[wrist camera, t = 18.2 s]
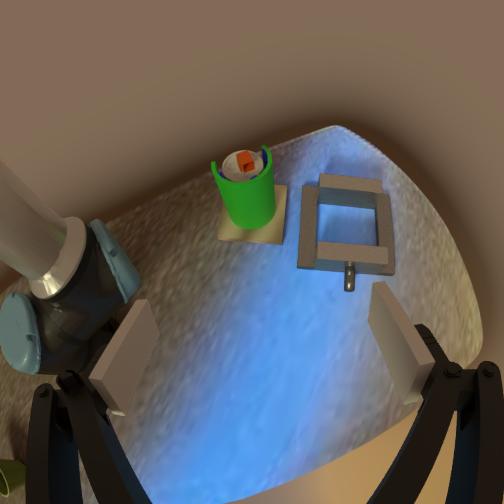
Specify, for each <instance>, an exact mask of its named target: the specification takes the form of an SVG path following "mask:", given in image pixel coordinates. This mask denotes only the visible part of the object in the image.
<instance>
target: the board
mask: <svg viewBox="0 0 504 504" xmlns="http://www.w3.org/2000/svg"><path fill="white" fill-rule="evenodd" d="M274 187H275V199H276V212H275V215H274V217H273V218H272V220H271V221H270V222H269V223H268V224H266V225H265V226H263V227H261V228H257V229H244V228H241V227H239V226H237V225H235V224H234V223H233V222H232V220H231V219H230V217H229V214H228V212H227V209H226V206H225V204H224V202H223V207H222V212H221V217H220V222H219V228H218V233H217V238H218V240H228V241H241V242H254V243H267V244H279V245H282V242H283V232H284V221H285V209H286V197H287V186H286V185H274Z"/></svg>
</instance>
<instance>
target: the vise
mask: <svg viewBox="0 0 504 504" xmlns="http://www.w3.org/2000/svg"><path fill="white" fill-rule="evenodd" d="M317 204H327V205H338V206H348V207H357V208H367V209H375V221H376V239H377V246H367V245H357V244H346V243H334V242H323V241H318V243H317V247H316V225H317ZM315 248H316V251H315ZM297 269H308V270H320V271H332V272H345V275H344V291H346V292H353V291H355V273H358V274H371V275H384V276H393V275H394V274H395V262H394V243H393V229H392V218H391V208H390V199H389V195H388V194H383V189H382V181H381V180H376V179H368V178H360V177H351V176H342V175H333V174H322V173H320V174H319V181H318V187H315V186H303V185H302V200H301V218H300V233H299V247H298V260H297Z"/></svg>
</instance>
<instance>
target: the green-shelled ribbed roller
mask: <svg viewBox="0 0 504 504" xmlns="http://www.w3.org/2000/svg"><path fill="white" fill-rule="evenodd" d="M261 149H262V157H263V161H262V159H261V157H260V156H259V155H258V154H257V153H255V152H252V151H248V150H242V151H237V152H234V153H233V154H231V155H229V156H228V157H227V158H226V159H225V160H224V162H223V165H222V171H223V174H224V176H223V175H222V173H221V172H220V173H219V171H218V168H217V165H216V162H211V168H212V172H213V175H214V177H215V180H216V183H217V185H218V188H219V191H220V193H221V196H222V198H223V201H224V204H225V206H226V209H227V212H228V214H229V217H230V219H231V220H232V222H233V223H234V224H235V225H237V226H239V227H241V228H244V229H257V228H261V227H263V226H265V225H266V224H268V223H269V222H270V221H271V220H272V218H273V217H274V215H275V212H276V199H275V187H274V175H273V164H272V155H271V152H270V151H269V149H268V148H267V147H266V146H265V145H263V146H261ZM263 164H264V168H263Z"/></svg>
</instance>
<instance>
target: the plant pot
mask: <svg viewBox="0 0 504 504" xmlns="http://www.w3.org/2000/svg"><path fill="white" fill-rule="evenodd" d="M25 476H26V467H25V465H24V464H23V463H21V462H20V461H19V460H5V459H0V494H1V495H3V496H4V497H8V496H9V494H10V493H12V492H13V491H14V490H16V489H18V488H20V487H22V486H24V485H25Z"/></svg>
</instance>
